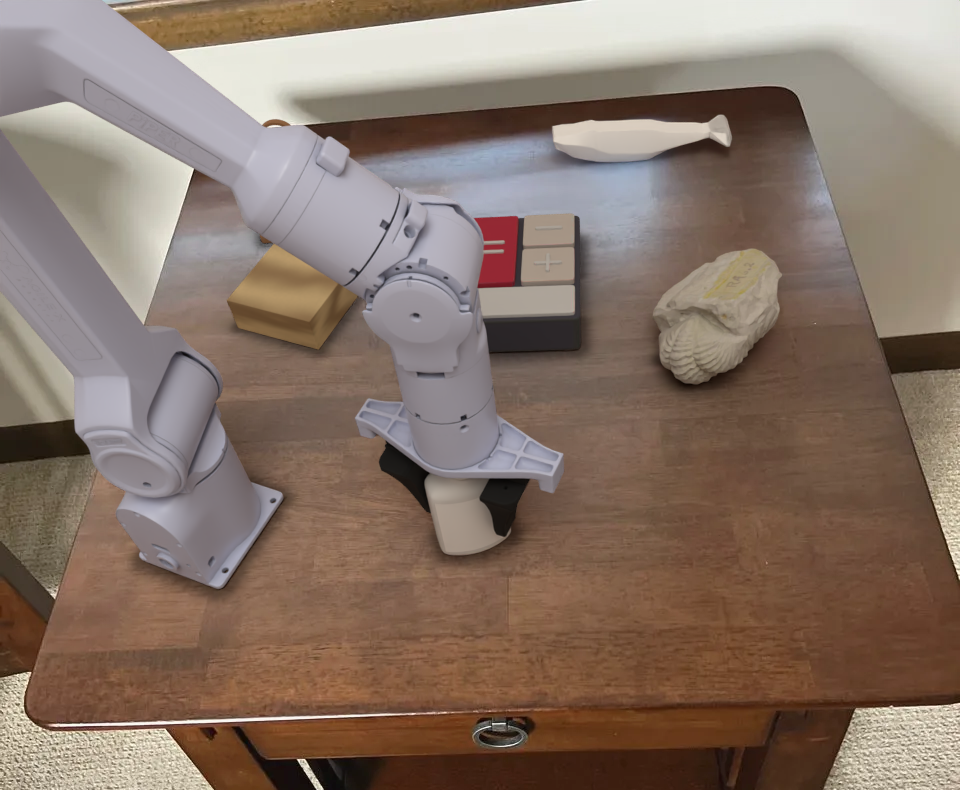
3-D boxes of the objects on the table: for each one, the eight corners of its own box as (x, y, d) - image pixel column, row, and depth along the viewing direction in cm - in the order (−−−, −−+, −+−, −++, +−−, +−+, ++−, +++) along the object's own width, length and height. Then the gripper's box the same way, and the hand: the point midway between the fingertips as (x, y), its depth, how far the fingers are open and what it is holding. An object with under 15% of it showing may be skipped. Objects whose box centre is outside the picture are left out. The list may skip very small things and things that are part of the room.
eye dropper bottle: (504, 564, 69) (490, 466, 59) (432, 554, 70) (406, 456, 60) (515, 516, 71) (503, 415, 61) (445, 508, 72) (423, 406, 63)
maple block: (318, 350, 84) (309, 321, 81) (237, 328, 87) (226, 300, 84) (365, 286, 89) (357, 257, 86) (286, 267, 91) (277, 239, 89)
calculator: (579, 207, 86) (580, 311, 77) (580, 245, 90) (580, 350, 81) (464, 212, 88) (451, 316, 78) (468, 250, 91) (456, 353, 82)
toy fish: (552, 147, 99) (551, 113, 95) (722, 132, 97) (727, 97, 94) (554, 178, 95) (553, 144, 92) (730, 163, 94) (735, 128, 91)
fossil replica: (638, 393, 77) (758, 412, 76) (650, 327, 70) (784, 347, 69) (657, 287, 83) (770, 304, 82) (671, 217, 76) (794, 234, 75)
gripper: (579, 373, 57) (582, 500, 68) (376, 321, 61) (409, 448, 72) (536, 457, 53) (546, 577, 64) (323, 395, 58) (366, 517, 69)
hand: (470, 514), depth 68 cm, fingers closed on eye dropper bottle, 5 cm apart
